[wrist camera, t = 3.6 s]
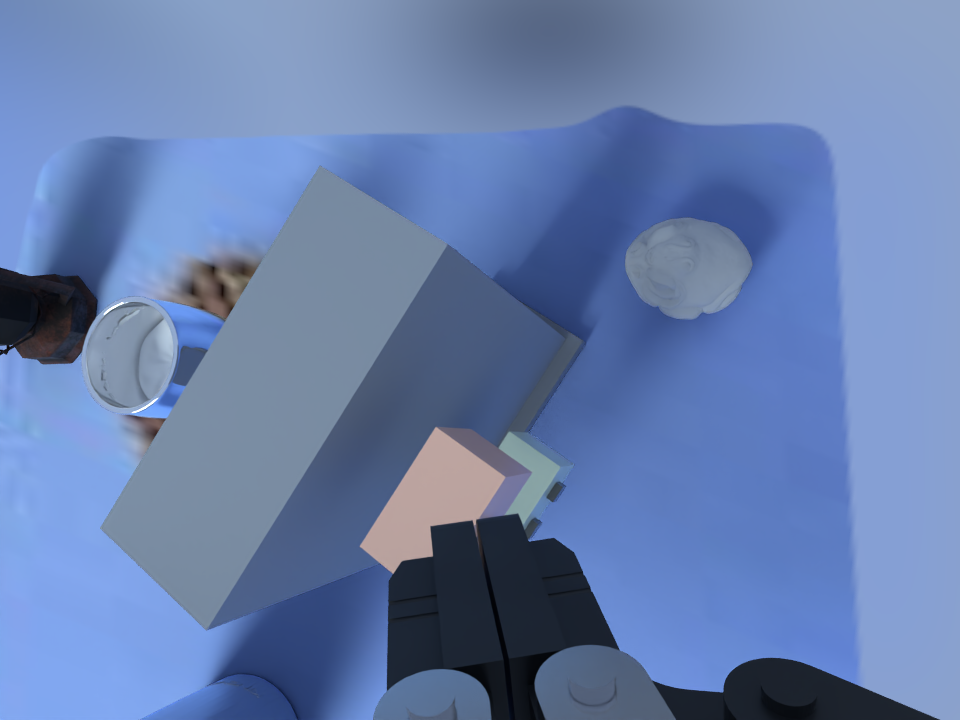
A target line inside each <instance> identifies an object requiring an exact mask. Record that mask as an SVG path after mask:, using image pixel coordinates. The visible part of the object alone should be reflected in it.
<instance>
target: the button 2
mask: <svg viewBox="0 0 960 720" xmlns="http://www.w3.org/2000/svg"><path fill="white" fill-rule="evenodd" d="M499 449H500V450H502V451H503V452H504V453H506V454H507V455H509V456H510V457H511V458H513V459H514V460H516V461H517V462H518V463H520V464H521V465H523V466H524V467H526V468H527V469H528V470H530V471H531V472H532V474H531V475H530V477H529V479H528V480H527V482H526V483H525V485H524V486H523V488H522V489H521V491H520V492H519V494H518V495H517V497H516V498H515V500H514V502H513V503H512V505H511V506H510V508H509V509H508V511H507V512H506V514H505V515H510V514H517V513H518V514H519V516H520V519H521V521H522V524H523V527H524V530H525V532H526V535H527V538H528V540H529V539H530V538H532V537H533V536H534V534H535V533H536V531H537V530H538V528H539V527H540V525H541V524H542V522H541V521H540V520H539V519H540V517H541V516H542V514H543V513H544V511H545V509H546V508H547V506H548V505H549V503H550V502H551V501H552V502H555V501H557V499H558V498H559V496H560V495H561V493H562V492H563V490H564V488H565V487H566V486H565V485H564V484H563V482H564V480H565V479H566V477H567V476H568V474H569V473H570V471H571V470H572V468H573V467H574V465H575V464H573V463H572V462H570V461H569V460H567V459H566V458H564V457H563V456H562V455H560V454H559V453H557V452H556V451H554V450H553V449H551V448H550V447H548V446H547V445H546V444H544V443H543V442H541V441H540V440H538V439H537V438H535V437H534V436H532V435H531V434H530V433H528V432H512V431H509V432H508V434H507V435H506V437H505V439H504V440H503V442H502V443H501V445H500V446H499Z"/></svg>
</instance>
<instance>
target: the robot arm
mask: <svg viewBox="0 0 960 720" xmlns="http://www.w3.org/2000/svg"><path fill="white" fill-rule="evenodd" d="M430 530H431V540H432V551H433V556H431V557H424V558H418V559H411V560H404V561H402V562H401V563H400V565H399V566H398V568H397V569H396V571H395V572H394V574H393V575H392V577H391V578H390V580H389V599H388V602H389V606H388V623H389V624H388V655H387V692H386V693H385V694H384V695H383V697H382V698H381V699H380V701H379V703H378V705H377V707H376V709H375V713H374V717H373V720H939V719H936V718H934V717H932V716H929V715H927V714H924V713H922V712H920V711H917V710H915V709H913V708H910V707H908V706H905V705H903V704H901V703H898V702H896V701H894V700H891V699H889V698H886V697H884V696H882V695H879V694H877V693H874V692H872V691H869V690H867V689H865V688H863V687H860V686H858V685H855V684H853V683H851V682H848V681H846V680H844V679H841V678H839V677H836V676H834V675H832V674H829V673H827V672H824V671H822V670H820V669H817V668H815V667H813V666H810V665H807V664H804V663H801V662H797V661H793V660H788V659H782V658H762V659H756V660H751V661H748V662H745V663H743V664H741V665H739V666H738V667H736V668H735V669H734V670H732V671H731V672H730V674H729V675H728V677H727V678H726V680H725V683H724V691H723V693H720V692H709V691H697V690H686V689H679V688H674V687H670V686H665V685H663V684H660V683H657V682H654V681H652V680H651V678H650V677H649V675H648V674H647V672H646V670H645V669H644V668H643V667H642V665H641V664H640V663H639V662H638V661H637V660H635V659H634V658H633V657H631V656H630V655H628V654H626V653H624V652H622V651H620V650H619V648H618V646H617V643H616V641H615V639H614V637H613V635H612V633H611V631H610V628H609V626H608V624H607V622H606V620H605V618H604V616H603V614H602V611H601V609H600V607H599V605H598V603H597V601H596V599H595V596H594V594H593V592H591V589H590V586H589V584H588V581H587V579H586V577H585V575H583V571H582V569H581V567H580V564H579V562H578V560H577V558H576V556H575V554H574V552H573V551H571V550H570V549H568V548H567V547H566V546H564V545H563V544H562V543H560V542H559V541H557V540H556V539H555V538H551V539H544V540H537V541H531V542H529V541H528V538H527V535H526V532H525V530H524V527H523V524H522V521H521V519H520V516H519V514H518V513H517V514H510V515H503V516H496V517H489V518H482V519H476V530H477V537H476V533H475V528H474V524H473V520H470V521H463V522H456V523H449V524H442V525H435V526H430ZM477 540H478V542H477ZM140 720H297V718H296V715H295V713H294V711H293V709H292V706H291V705H290V703H289V702H288V701H287V699H286V698H285V696H284V695H283V694H282V693H281V692H280V691H279V690H278V689H277V688H276V687H275V686H274V685H273V684H271V683H269V682H268V681H266V680H264V679H263V678H260V677H257V676H254V675H248V674H237V675H232V676H228V677H226V678H224V679H221V680H219V681H217V682H215V683H212V684H210V685H208V686H207V687H205V688H203V689H201V690H199V691H197V692H195V693H193V694H191V695H189V696H186V697H184V698H182V699H180V700H178V701H176V702H174V703H172V704H170V705H168V706H166V707H164V708H162V709H160V710H158V711H156V712H154V713H152V714H150V715H148V716H146V717H144V718H142V719H140Z"/></svg>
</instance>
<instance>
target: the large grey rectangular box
mask: <svg viewBox="0 0 960 720" xmlns="http://www.w3.org/2000/svg"><path fill="white" fill-rule="evenodd" d="M585 344H586V343H585V342H584V341H583V340H582V339H580V338H578V337H577V336H575V335H574V334H572V333H570V332H569V331H567V330H566V329H564V328H562V327H561V326H559V325H558V324H556V323H554V322H553V321H551V320H549V319H548V318H546V317H545V316H543V315H541V314H540V313H538V312H537V311H535V310H533V309H532V308H530V307H529V306H527V305H525V304H524V303H522V302H520V301H519V300H517V299H516V298H514V297H513V296H512V295H511V294H510V293H508V292H507V291H506V290H505V289H503V288H502V287H501V286H500V285H498V284H497V283H496V282H495V281H493V280H492V279H491V278H490V277H488V276H487V275H486V274H485V273H483V272H482V271H481V270H480V269H478V268H477V267H476V266H475V265H473V264H472V263H471V262H470V261H468V260H467V259H466V258H465V257H463V256H462V255H461V254H460V253H458V252H457V251H456V250H455V249H453V248H452V247H451V246H450V245H448V244H447V243H445V242H444V241H442V240H440V239H439V238H437V237H436V236H434V235H432V234H431V233H429V232H427V231H426V230H424V229H423V228H421V227H419V226H418V225H416V224H414V223H413V222H411V221H410V220H408V219H406V218H405V217H403V216H401V215H400V214H398V213H396V212H395V211H393V210H392V209H390V208H388V207H387V206H385V205H383V204H382V203H380V202H379V201H377V200H375V199H374V198H372V197H370V196H369V195H367V194H366V193H364V192H362V191H361V190H359V189H357V188H356V187H354V186H352V185H351V184H349V183H348V182H346V181H344V180H343V179H341V178H339V177H338V176H336V175H335V174H333V173H331V172H330V171H328V170H326V169H325V168H323V167H322V166H319V168H318V169H317V171H316V173H315V174H314V176H313V178H312V179H311V181H310V182H309V184H308V186H307V187H306V189H305V191H304V192H303V194H302V196H301V197H300V199H299V201H298V202H297V204H296V206H295V207H294V209H293V211H292V212H291V214H290V215H289V217H288V219H287V220H286V222H285V224H284V225H283V227H282V229H281V230H280V232H279V234H278V235H277V237H276V239H275V240H274V242H273V244H272V245H271V247H270V248H269V250H268V252H267V253H266V255H265V257H264V258H263V260H262V262H261V263H260V265H259V267H258V268H257V270H256V272H255V273H254V275H253V277H252V278H251V280H250V282H249V283H248V285H247V286H246V288H245V290H244V291H243V293H242V295H241V296H240V298H239V300H238V301H237V303H236V305H235V306H234V308H233V310H232V311H231V313H230V315H229V316H228V318H227V319H226V321H225V323H224V324H223V326H222V328H221V329H220V331H219V333H218V334H217V336H216V338H215V339H214V341H213V343H212V344H211V346H210V348H209V349H208V351H207V352H206V354H205V356H204V357H203V359H202V361H201V362H200V364H199V366H198V367H197V369H196V371H195V372H194V374H193V376H192V377H191V379H190V381H189V382H188V384H187V385H186V387H185V389H184V390H183V392H182V394H181V395H180V397H179V399H178V400H177V402H176V404H175V405H174V407H173V409H172V410H171V412H170V414H169V415H168V417H167V418H166V420H165V422H164V423H163V425H162V427H161V428H160V430H159V432H158V433H157V435H156V437H155V438H154V440H153V442H152V443H151V445H150V447H149V448H148V450H147V451H146V453H145V455H144V456H143V458H142V460H141V461H140V463H139V465H138V466H137V468H136V470H135V471H134V473H133V475H132V476H131V478H130V480H129V481H128V483H127V485H126V486H125V488H124V489H123V491H122V493H121V494H120V496H119V498H118V499H117V501H116V503H115V504H114V506H113V508H112V509H111V511H110V513H109V514H108V516H107V518H106V519H105V521H104V522H103V524H102V526H101V527H100V529H101V530H102V531H103V532H104V533H106V534H107V535H108V536H109V537H110V538H111V539H112V540H113V541H114V542H115V543H116V544H117V545H118V546H119V547H120V548H121V549H122V550H123V551H124V552H125V553H126V554H127V555H128V556H129V557H130V558H132V559H133V560H134V561H135V562H136V563H137V564H138V565H139V566H140V567H141V568H142V569H143V570H144V571H145V572H146V573H147V574H148V575H149V576H150V577H151V578H152V579H153V580H154V581H155V582H156V583H158V584H159V585H160V586H161V587H162V588H163V589H164V590H165V591H166V592H167V593H168V594H169V595H170V596H171V597H172V598H173V599H174V600H175V601H176V602H177V603H178V604H179V605H180V606H181V607H183V608H184V609H185V610H186V611H187V612H188V613H189V614H190V615H191V616H192V617H193V618H194V619H195V620H196V621H197V622H198V623H199V624H200V625H201V626H202V627H203V628H204V629H205V630H209V629H212V628H214V627H217V626H219V625H222V624H225V623H227V622H230V621H232V620H235V619H238V618H240V617H243V616H245V615H248V614H251V613H253V612H256V611H258V610H261V609H264V608H266V607H269V606H271V605H274V604H277V603H279V602H282V601H284V600H287V599H290V598H292V597H295V596H297V595H300V594H303V593H305V592H308V591H310V590H313V589H316V588H318V587H321V586H324V585H326V584H329V583H331V582H334V581H337V580H339V579H342V578H344V577H347V576H350V575H352V574H355V573H357V572H360V571H363V570H365V569H368V568H370V567H373V566H376V565H378V564H380V563H379V562H378V561H377V560H376V559H374V558H373V557H372V556H371V555H370V554H368V553H367V552H366V551H365V550H363V549H362V548H361V547H360V545H361V544H362V542H363V540H364V539H365V537H366V536H367V534H368V533H369V531H370V529H371V528H372V526H373V525H374V523H375V522H376V520H377V518H378V517H379V515H380V514H381V512H382V511H383V509H384V507H385V506H386V504H387V503H388V501H389V500H390V498H391V496H392V495H393V493H394V492H395V490H396V489H397V487H398V485H399V484H400V482H401V481H402V479H403V478H404V476H405V474H406V473H407V471H408V470H409V468H410V467H411V465H412V463H413V462H414V460H415V459H416V457H417V456H418V454H419V452H420V451H421V449H422V448H423V446H424V445H425V443H426V442H427V440H428V438H429V437H430V435H431V434H432V432H433V431H434V429H435V427H447V428H463V429H472V430H473V431H475V432H476V433H478V434H479V435H480V436H482V437H483V438H485V439H486V440H487V441H489V442H490V443H492V444H493V445H494V446H496V447H497V448H499V446H500V445H501V443H502V442H503V440H504V439H505V437H506V435H507V434H508V432H509V431H512V432H529V430H530V429H531V427H532V426H533V424H534V423H535V421H536V420H537V418H538V417H539V415H540V413H541V412H542V410H543V409H544V407H545V406H546V404H547V403H548V401H549V400H550V398H551V396H552V395H553V393H554V392H555V390H556V389H557V387H558V386H559V384H560V383H561V381H562V379H563V378H564V376H565V375H566V373H567V372H568V370H569V369H570V367H571V366H572V364H573V362H574V361H575V359H576V358H577V356H578V355H579V353H580V352H581V350H582V349H583V347H584V345H585Z"/></svg>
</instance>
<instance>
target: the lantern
mask: <svg viewBox="0 0 960 720" xmlns="http://www.w3.org/2000/svg"><path fill="white" fill-rule="evenodd" d="M96 306H97V299H96V298H95V297H94V296H93V294H92V293H91V292H90V290H89V289H88V288H87V287H86V285H85V284H84V283H83V282H82V280H81V279H80V278H79V276H65V277H64V276H60V275H56V274H52V275H40V276H27V275H23V274H19V273H17V272H14V271H10V270H7V269H3V268H0V346H2V345H7V349H5V350H0V355H1V354H3V353H4V354H6V355H7V353H8V351H9V350H10V349H12V348H14V347H15V348H16V349H17V351H18V352H19V354H20V355H21V356H22V358H28V359H37V360H38V361H39V362H40V363H41V364H66V363H73V362H74V360H75V359H76V358H77V357H78V356H79V354H80V353H81V352H82V348H83V344H84V340H85V337H86V334H87V332H88V330H89V328H90V326H91V324H92V323H93V321H94V320H95V318H96ZM12 344H13V346H11V347H9V345H12Z"/></svg>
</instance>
